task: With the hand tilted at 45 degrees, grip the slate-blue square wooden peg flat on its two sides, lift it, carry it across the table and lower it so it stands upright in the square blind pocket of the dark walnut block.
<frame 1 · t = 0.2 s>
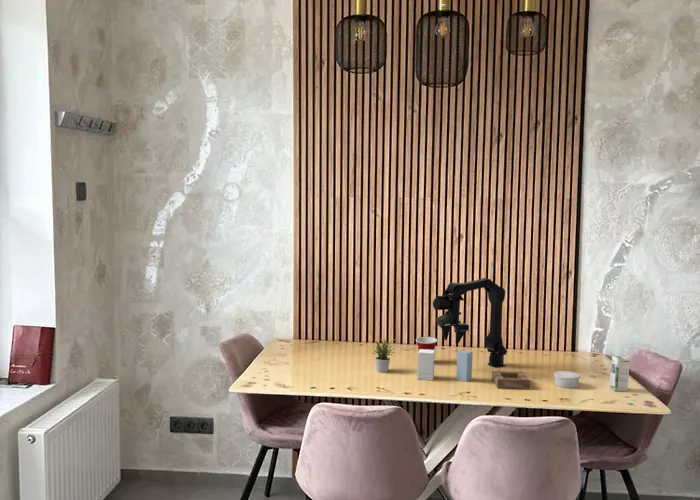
hand: (451, 342, 321), 14 cm above the table, tool pointing down, fingers open, 9 cm apart
plastic cup: (425, 362, 339), on the table
supplement box: (425, 378, 311), on the table
house plant: (385, 371, 321), on the table
walnut socket block: (510, 384, 303), on the table
ramekin: (566, 386, 303), on the table
syrup box: (618, 390, 298), on the table
slate blue peg: (464, 379, 309), on the table
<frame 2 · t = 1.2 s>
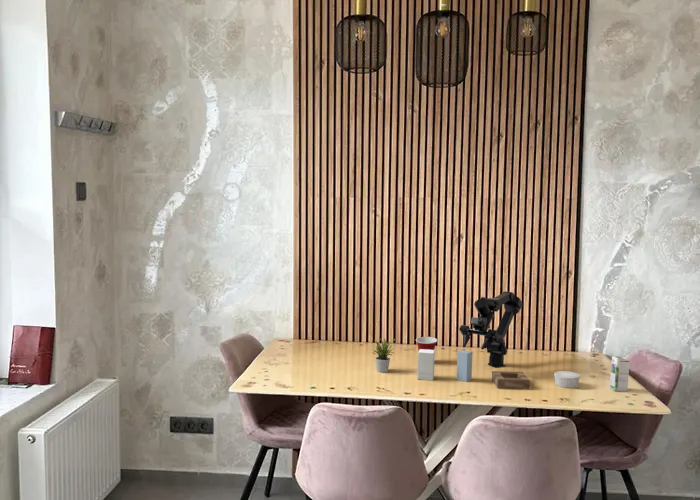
hand: (472, 347, 314), 14 cm above the table, tool tilted 45°, fingers open, 9 cm apart
nothing on the table moved.
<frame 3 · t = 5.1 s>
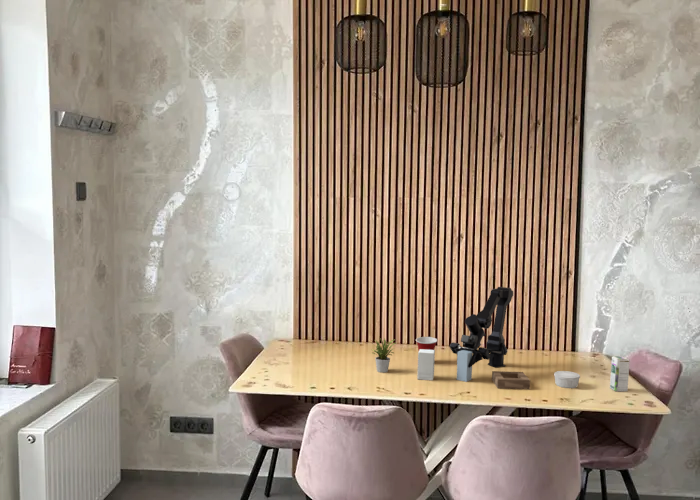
hand: (463, 366, 308), 7 cm above the table, tool tilted 45°, fingers closed on slate blue peg, 5 cm apart
slate blue peg: (464, 379, 309), on the table, touching gripper
everything else where it was.
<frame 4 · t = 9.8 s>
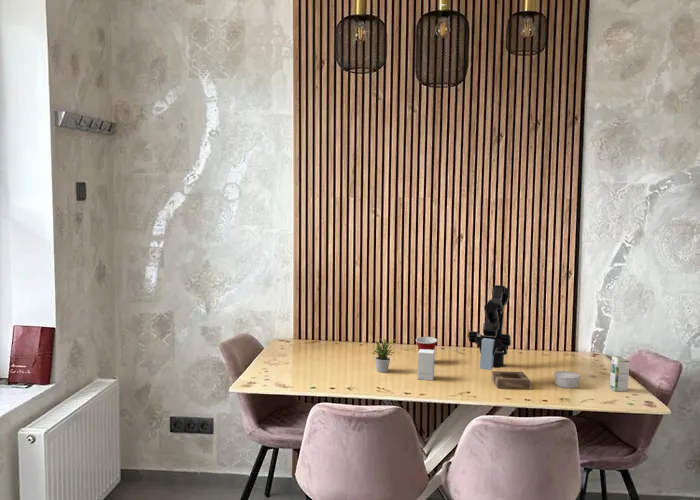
hand: (487, 354, 302), 13 cm above the table, tool tilted 45°, fingers closed on slate blue peg, 5 cm apart
slate blue peg: (486, 368, 304), point 7 cm above the table, touching gripper
everything else where it was.
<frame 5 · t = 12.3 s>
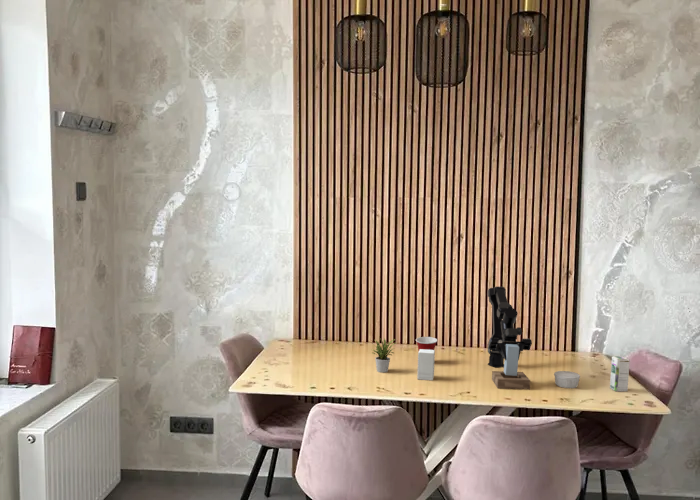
hand: (512, 360, 300), 11 cm above the table, tool tilted 45°, fingers closed on slate blue peg, 5 cm apart
slate blue peg: (510, 373, 302), point 5 cm above the table, touching gripper
everything else where it was.
when the fingers open (8 cm above the table, at t = 14.2 s): slate blue peg stays where it is, resting on walnut socket block.
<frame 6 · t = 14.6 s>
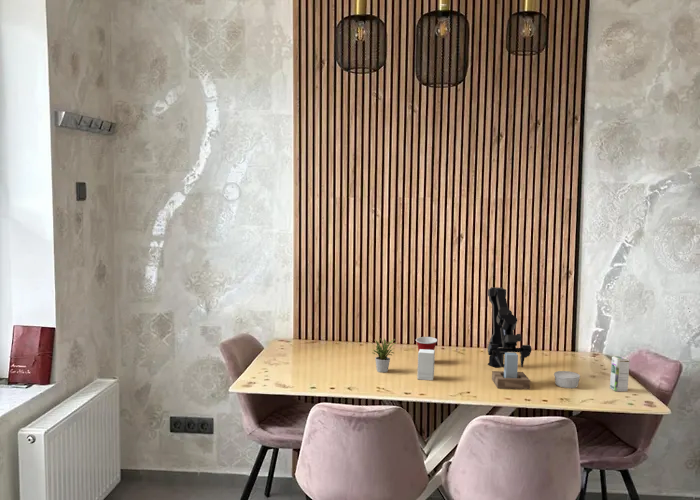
hand: (511, 366, 301), 9 cm above the table, tool tilted 45°, fingers open, 9 cm apart
slate blue peg: (510, 382, 303), point 1 cm above the table, touching walnut socket block
everything else where it was.
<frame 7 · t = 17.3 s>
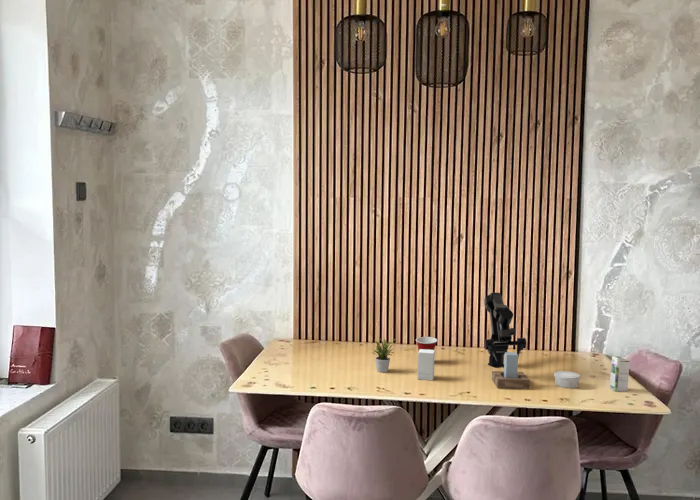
hand: (507, 360, 310), 9 cm above the table, tool tilted 40°, fingers open, 9 cm apart
nothing on the table moved.
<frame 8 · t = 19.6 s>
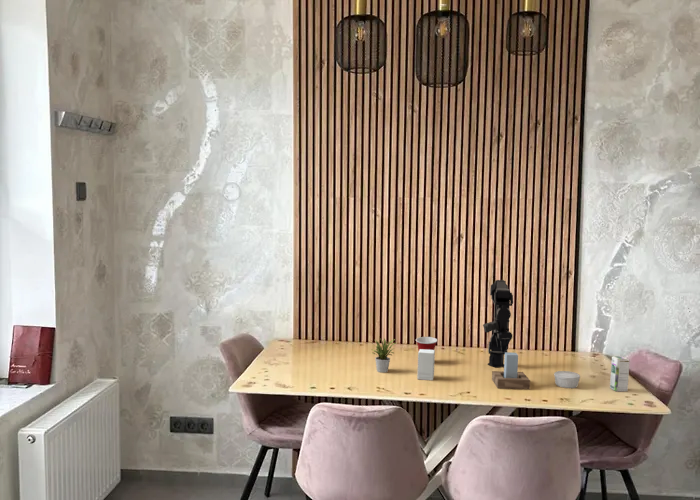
hand: (500, 349, 313), 13 cm above the table, tool pointing down, fingers open, 9 cm apart
nothing on the table moved.
at the end: slate blue peg 0.1 cm off-centre on the walnut socket block, point 1.0 cm above the walnut socket block's base; slate blue peg tilted 0°; the gripper is holding nothing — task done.
